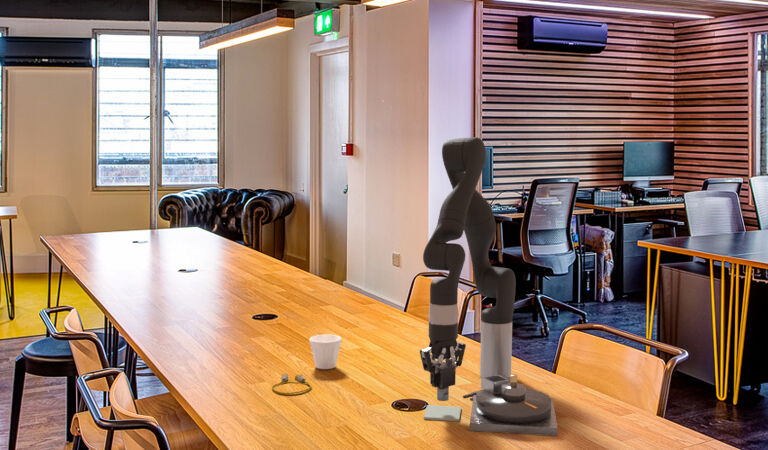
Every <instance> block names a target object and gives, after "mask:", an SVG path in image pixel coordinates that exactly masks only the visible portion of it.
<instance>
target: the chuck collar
mask: <svg viewBox="0 0 768 450" xmlns="http://www.w3.org/2000/svg"><path fill="white" fill-rule="evenodd" d="M480 390H481V391H480ZM480 390H479V391H480V392H478V393H477V394H476V410H477V412H478V413H479V414H481V415H482V416H484V417H487V418H489V419H493V420H497V421H502V422H510V423H529V422H536V421H540V420H543V419H545V418H547V417H549V416H550V414H551V399H552V398H551V397H550V396H549V395H548V394H547V393H544V392H543V391H540V390H538V389H537V390H536V389H534V388H529V387H526V385H525V384H521V383H518V374H516V373H514V374H513V373H511V375H510V379H507V378H505V377H502V376H500V375H498V374H497V375H492V376H486V377H480Z"/></svg>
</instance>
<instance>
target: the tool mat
mask: <svg viewBox="0 0 768 450" xmlns="http://www.w3.org/2000/svg"><path fill="white" fill-rule="evenodd" d="M461 412H462V406H454V405H452V406H451V405H448V406H447V405H433V404H430V405H429V404H427V405H426V408H425V412H424V414H423V420H429V421H430V420H433V421H448V422H449V421H450V422H460V418H461V417H460V416H461Z"/></svg>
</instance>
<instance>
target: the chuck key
mask: <svg viewBox="0 0 768 450" xmlns="http://www.w3.org/2000/svg"><path fill="white" fill-rule="evenodd" d="M434 368H435V366H434ZM456 370H457V367H456V366H454V365H451V364H449V363H446V361H442V365H440V368H439V372H438V374H439V387H437V388H436V400H438V402H447V401H449V397H450V395H449V393H450V392H449V391H450V390H449V389H450V387H452V386H456V375H457V374H456V373H457V372H456Z"/></svg>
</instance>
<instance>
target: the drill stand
mask: <svg viewBox="0 0 768 450" xmlns="http://www.w3.org/2000/svg"><path fill="white" fill-rule="evenodd" d="M472 397H473V400H472V404H471V413H470V420H469V431H470V432H481V433H482V432H483V433H484V432H485V433H499V434H500V433H503V434H517V435H518V434H519V435H530V436H531V435H533V436H534V435H536V436H551V437H558V429H559V428H558V423H557V422H558V421H557V417H556V411H555V405H554V399H553V398H551V414H550V416H549V417H547V418H545V419H543V420H540V421H536V422H529V423H510V422H502V421H497V420H493V419H489V418H487V417H484V416H482V415H481V414H479V413H478V412H477V410H476V395H473V396H472Z"/></svg>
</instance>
